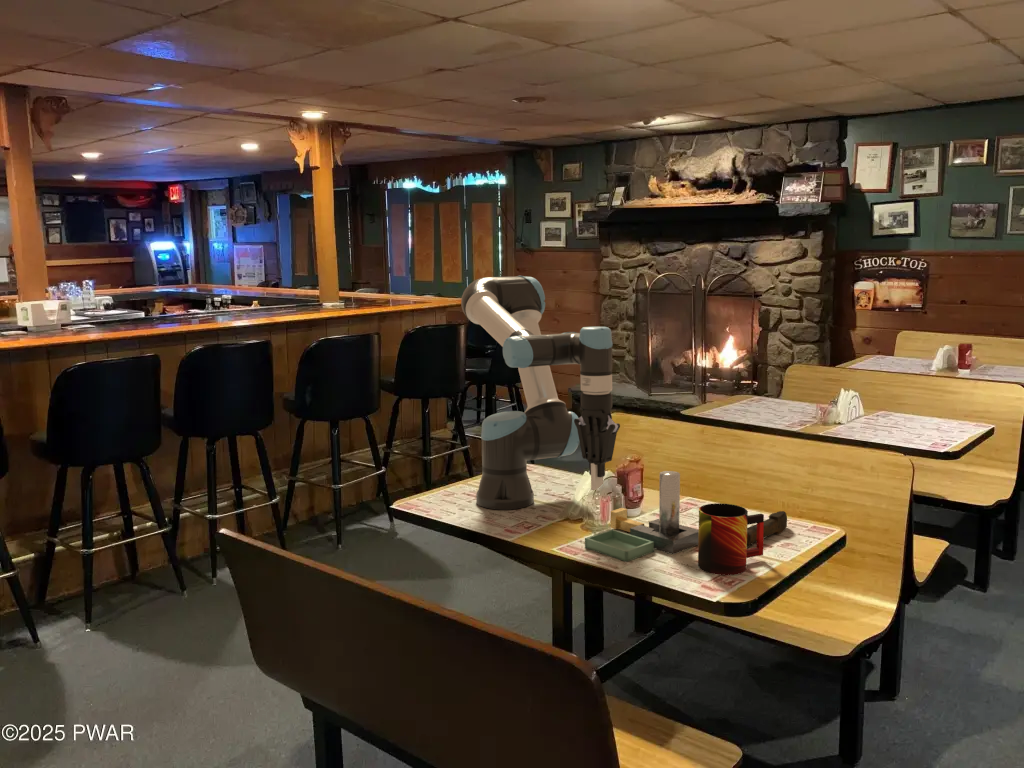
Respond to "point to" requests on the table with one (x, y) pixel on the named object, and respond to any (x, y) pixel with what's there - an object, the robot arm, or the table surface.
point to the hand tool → (768, 527)
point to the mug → (726, 538)
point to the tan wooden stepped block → (622, 520)
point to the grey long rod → (669, 502)
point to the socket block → (667, 537)
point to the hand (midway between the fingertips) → (597, 489)
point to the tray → (619, 545)
